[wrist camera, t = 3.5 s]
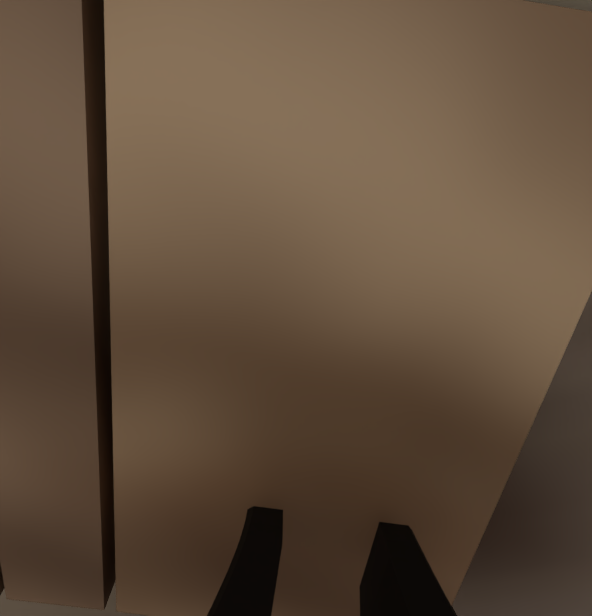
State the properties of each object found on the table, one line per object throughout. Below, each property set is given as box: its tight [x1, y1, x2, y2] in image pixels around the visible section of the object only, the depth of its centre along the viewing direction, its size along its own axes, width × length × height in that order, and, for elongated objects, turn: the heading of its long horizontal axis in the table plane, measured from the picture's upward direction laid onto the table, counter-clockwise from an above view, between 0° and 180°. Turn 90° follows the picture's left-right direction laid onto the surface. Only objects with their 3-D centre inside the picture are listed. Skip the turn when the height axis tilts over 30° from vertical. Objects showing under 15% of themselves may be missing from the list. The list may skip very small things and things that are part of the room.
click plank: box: [104, 0, 592, 616], centre depth 10 cm, size 14×8×1 cm, turn 172°
